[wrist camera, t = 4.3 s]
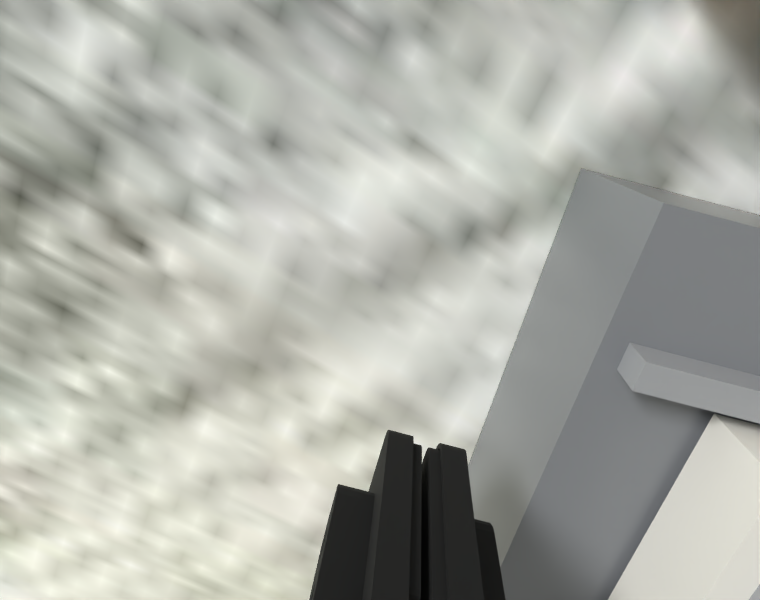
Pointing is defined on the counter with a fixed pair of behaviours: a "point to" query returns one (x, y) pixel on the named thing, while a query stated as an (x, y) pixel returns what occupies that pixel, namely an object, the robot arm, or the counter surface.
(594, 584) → the socket
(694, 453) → the shutter
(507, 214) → the counter surface
